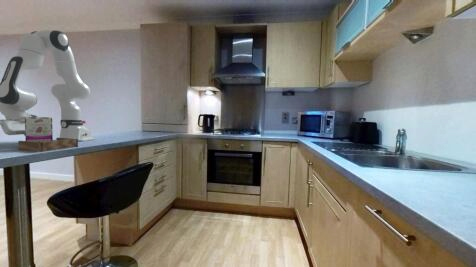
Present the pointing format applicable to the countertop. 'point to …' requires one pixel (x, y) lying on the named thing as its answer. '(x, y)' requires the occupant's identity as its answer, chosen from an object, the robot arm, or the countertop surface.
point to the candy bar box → (38, 129)
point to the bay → (48, 144)
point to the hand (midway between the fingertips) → (34, 138)
